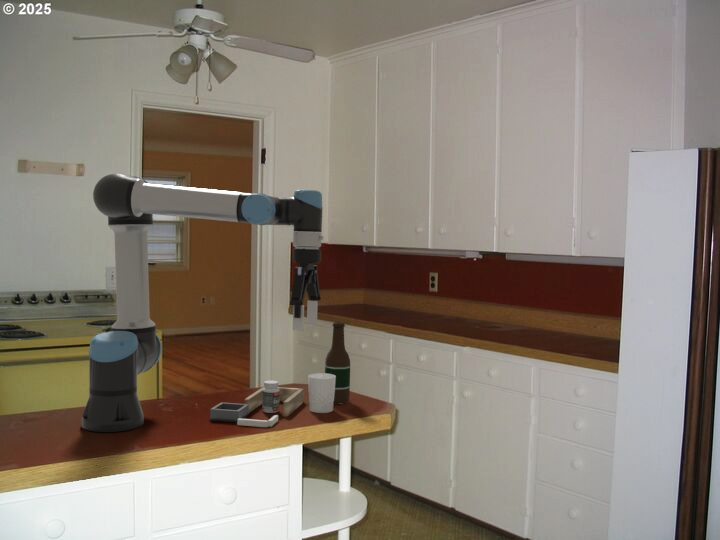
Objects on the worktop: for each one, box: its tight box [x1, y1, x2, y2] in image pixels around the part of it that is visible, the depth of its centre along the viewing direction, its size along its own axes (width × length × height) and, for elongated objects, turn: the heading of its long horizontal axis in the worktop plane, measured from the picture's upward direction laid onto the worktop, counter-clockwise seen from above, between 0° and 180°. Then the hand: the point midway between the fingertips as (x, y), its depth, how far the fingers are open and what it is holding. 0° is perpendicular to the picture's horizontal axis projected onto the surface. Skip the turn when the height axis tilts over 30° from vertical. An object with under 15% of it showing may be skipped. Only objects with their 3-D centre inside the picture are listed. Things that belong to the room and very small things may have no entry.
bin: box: [209, 402, 250, 423], centre depth 198 cm, size 8×8×3 cm
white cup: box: [307, 372, 336, 414], centre depth 208 cm, size 8×8×10 cm
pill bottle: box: [261, 380, 280, 414], centre depth 206 cm, size 5×5×8 cm
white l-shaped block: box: [236, 414, 279, 428], centre depth 193 cm, size 9×7×2 cm
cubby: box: [244, 386, 305, 417], centre depth 210 cm, size 12×18×4 cm
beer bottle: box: [324, 321, 351, 405], centre depth 220 cm, size 8×8×24 cm
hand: (305, 327), depth 196 cm, fingers open, 13 cm apart
